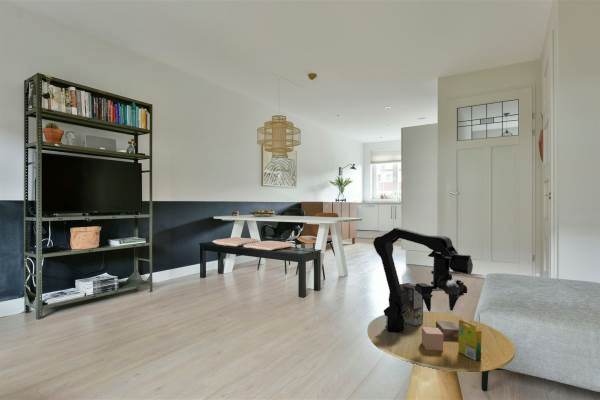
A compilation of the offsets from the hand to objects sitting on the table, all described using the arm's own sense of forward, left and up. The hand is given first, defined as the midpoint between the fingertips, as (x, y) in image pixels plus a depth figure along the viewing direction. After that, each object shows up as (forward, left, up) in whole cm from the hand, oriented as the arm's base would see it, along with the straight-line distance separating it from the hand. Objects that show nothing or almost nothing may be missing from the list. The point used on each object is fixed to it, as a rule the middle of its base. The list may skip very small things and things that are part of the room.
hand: (440, 310), depth 129 cm
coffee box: (-6, +23, -13) cm, 27 cm away
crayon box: (+7, -9, -13) cm, 17 cm away
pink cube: (-4, -3, -13) cm, 13 cm away
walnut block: (+7, +10, -13) cm, 17 cm away
